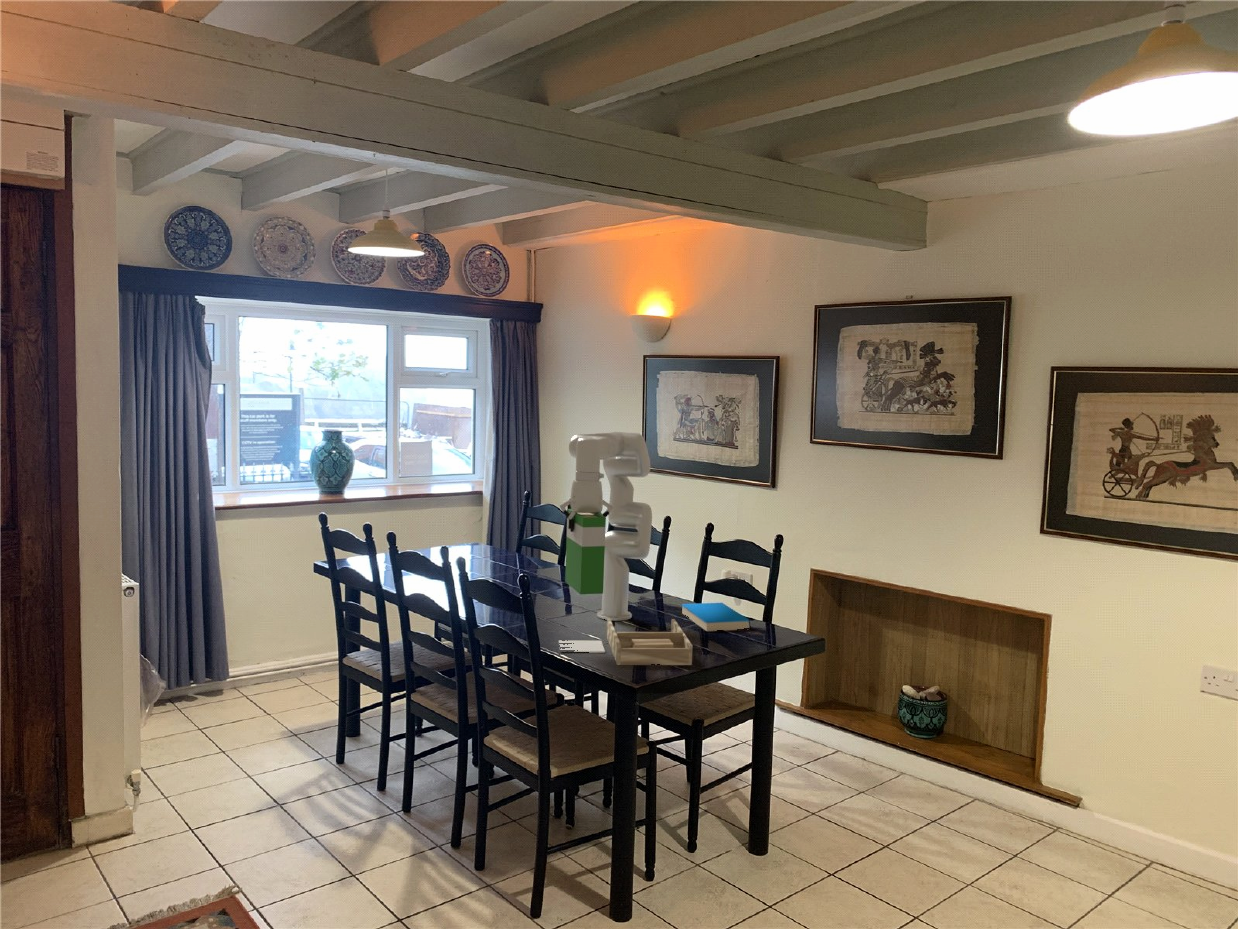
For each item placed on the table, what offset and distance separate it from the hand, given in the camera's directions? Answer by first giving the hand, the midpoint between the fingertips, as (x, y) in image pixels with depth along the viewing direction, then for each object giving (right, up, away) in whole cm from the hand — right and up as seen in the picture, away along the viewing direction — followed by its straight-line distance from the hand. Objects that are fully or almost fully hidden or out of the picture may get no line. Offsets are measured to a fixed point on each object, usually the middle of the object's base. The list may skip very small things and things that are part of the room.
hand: (585, 531), depth 287 cm
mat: (-2, -38, +3) cm, 38 cm away
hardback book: (-1, -18, +2) cm, 18 cm away
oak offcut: (+21, -37, -6) cm, 43 cm away
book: (+45, -37, +43) cm, 72 cm away
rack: (+20, -38, +4) cm, 43 cm away
